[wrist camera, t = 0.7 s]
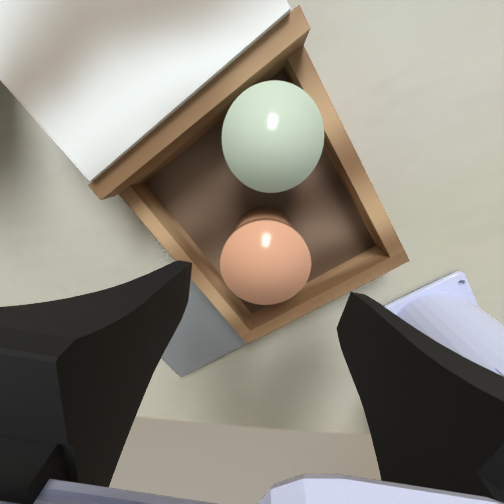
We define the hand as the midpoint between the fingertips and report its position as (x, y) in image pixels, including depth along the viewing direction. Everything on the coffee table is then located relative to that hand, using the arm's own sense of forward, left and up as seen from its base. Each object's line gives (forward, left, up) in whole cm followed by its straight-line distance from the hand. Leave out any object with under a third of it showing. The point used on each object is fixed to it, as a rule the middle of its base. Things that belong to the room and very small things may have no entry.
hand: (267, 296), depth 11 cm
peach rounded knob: (0, 0, -9) cm, 9 cm away
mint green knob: (+5, -4, -9) cm, 11 cm away
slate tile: (-4, +11, -10) cm, 15 cm away
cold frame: (+5, -1, -10) cm, 11 cm away
